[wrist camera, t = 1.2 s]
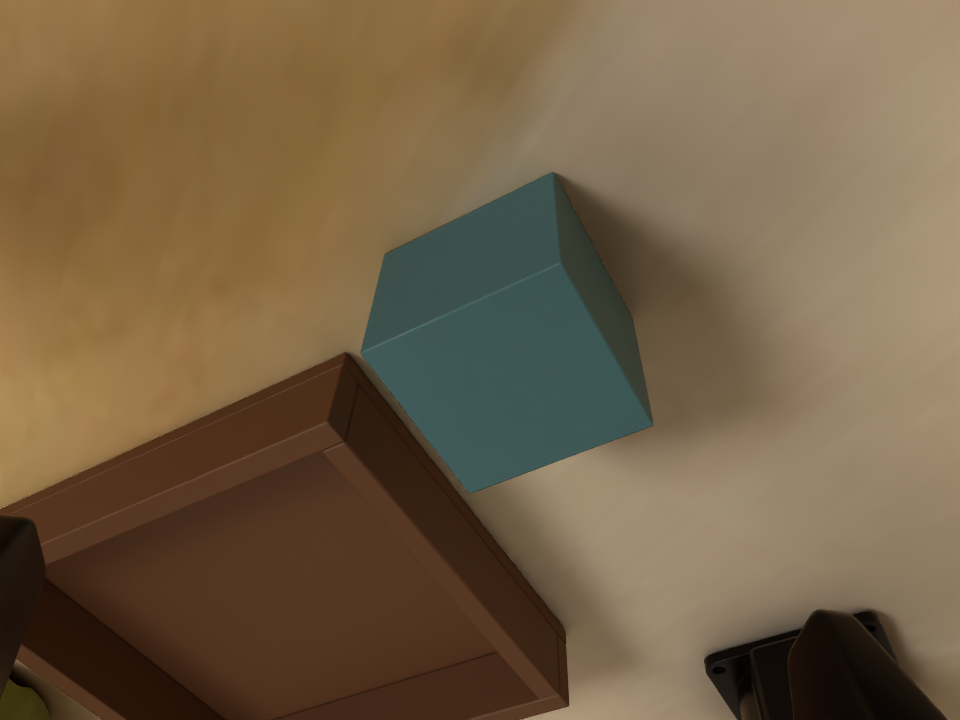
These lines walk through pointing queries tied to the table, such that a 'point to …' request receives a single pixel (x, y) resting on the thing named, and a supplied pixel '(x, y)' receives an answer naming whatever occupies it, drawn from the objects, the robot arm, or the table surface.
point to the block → (507, 339)
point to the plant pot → (21, 704)
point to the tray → (285, 575)
